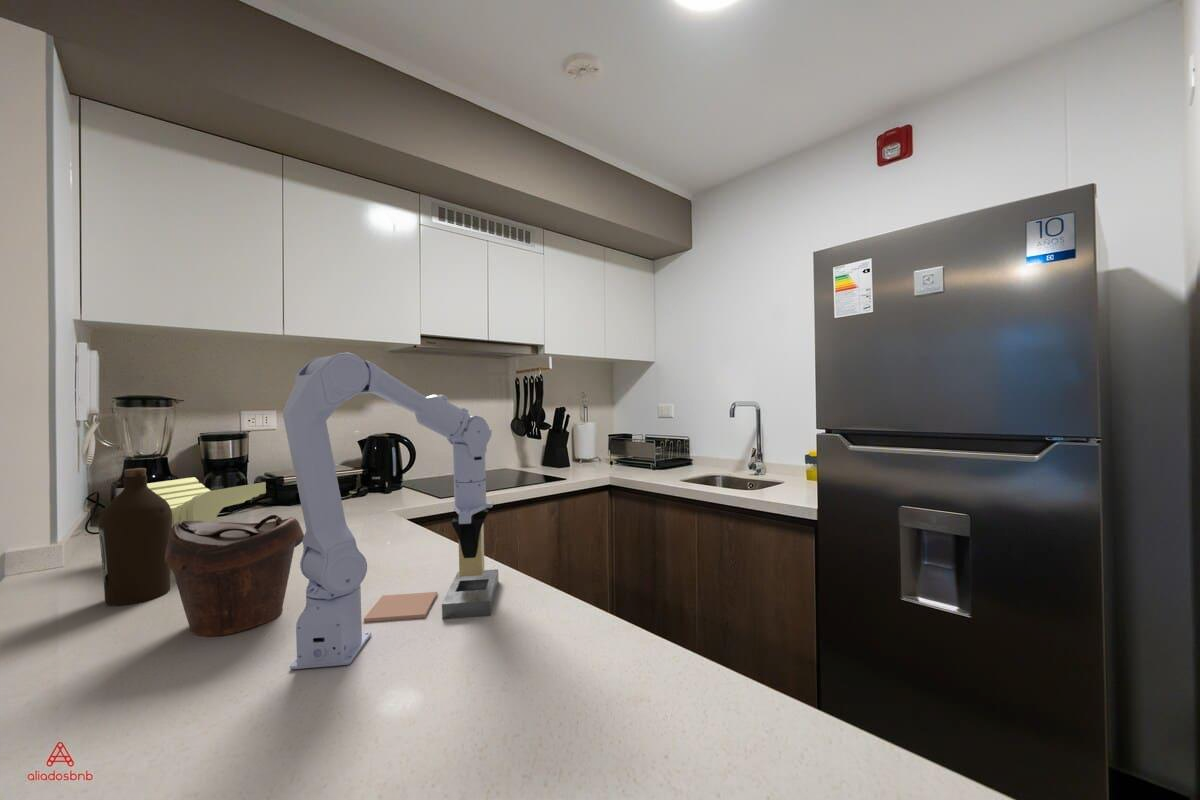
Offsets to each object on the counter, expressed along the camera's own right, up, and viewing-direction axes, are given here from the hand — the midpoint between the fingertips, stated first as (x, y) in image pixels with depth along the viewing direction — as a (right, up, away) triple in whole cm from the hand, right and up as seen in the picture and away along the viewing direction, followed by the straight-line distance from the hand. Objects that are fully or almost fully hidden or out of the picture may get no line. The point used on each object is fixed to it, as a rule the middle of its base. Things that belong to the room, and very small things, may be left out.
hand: (471, 553), depth 93 cm
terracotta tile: (-11, -9, -3) cm, 15 cm away
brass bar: (0, -4, 0) cm, 3 cm away
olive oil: (-67, -10, +5) cm, 68 cm away
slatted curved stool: (-76, -10, +31) cm, 83 cm away
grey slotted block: (0, -8, 0) cm, 8 cm away
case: (-38, -10, -6) cm, 40 cm away
